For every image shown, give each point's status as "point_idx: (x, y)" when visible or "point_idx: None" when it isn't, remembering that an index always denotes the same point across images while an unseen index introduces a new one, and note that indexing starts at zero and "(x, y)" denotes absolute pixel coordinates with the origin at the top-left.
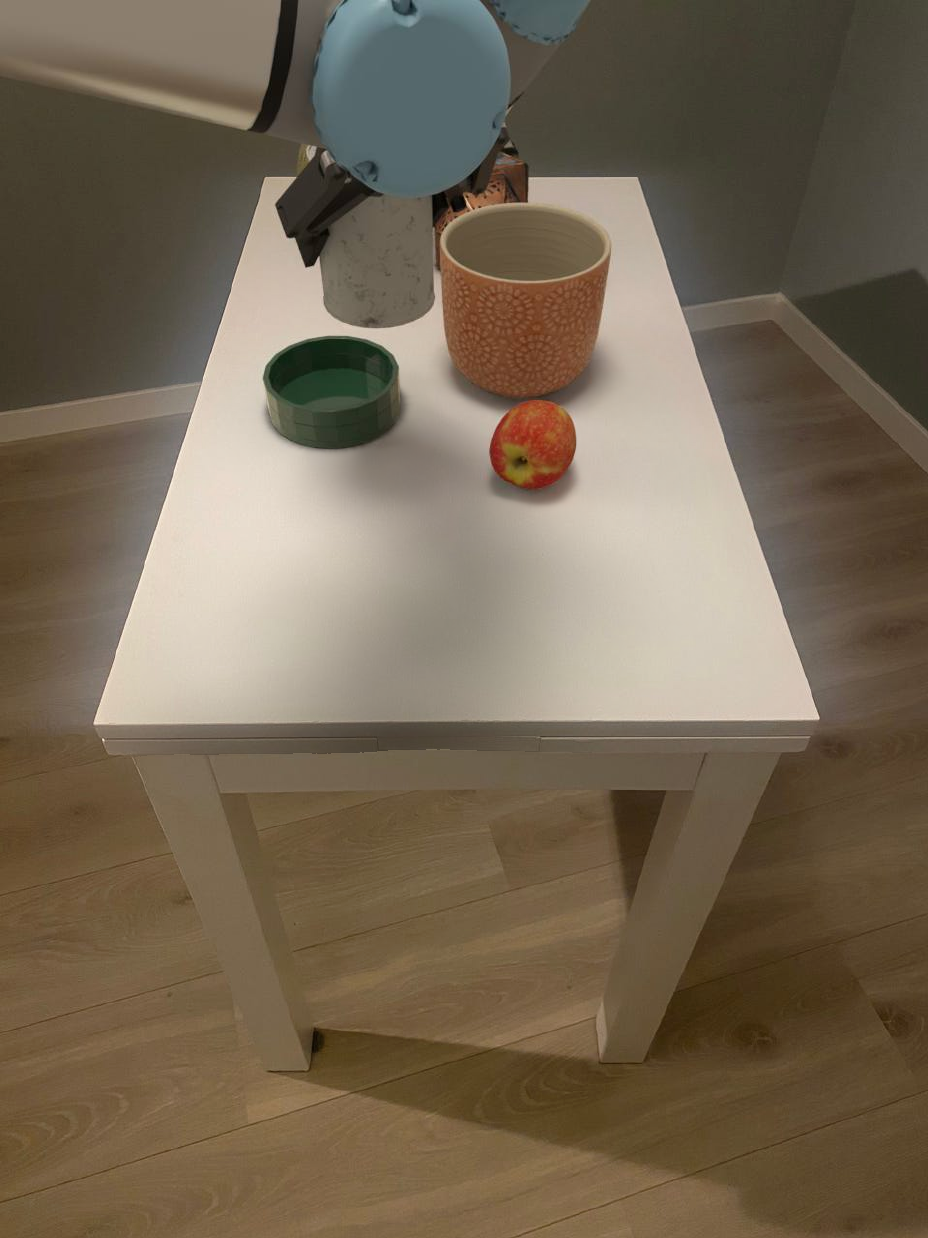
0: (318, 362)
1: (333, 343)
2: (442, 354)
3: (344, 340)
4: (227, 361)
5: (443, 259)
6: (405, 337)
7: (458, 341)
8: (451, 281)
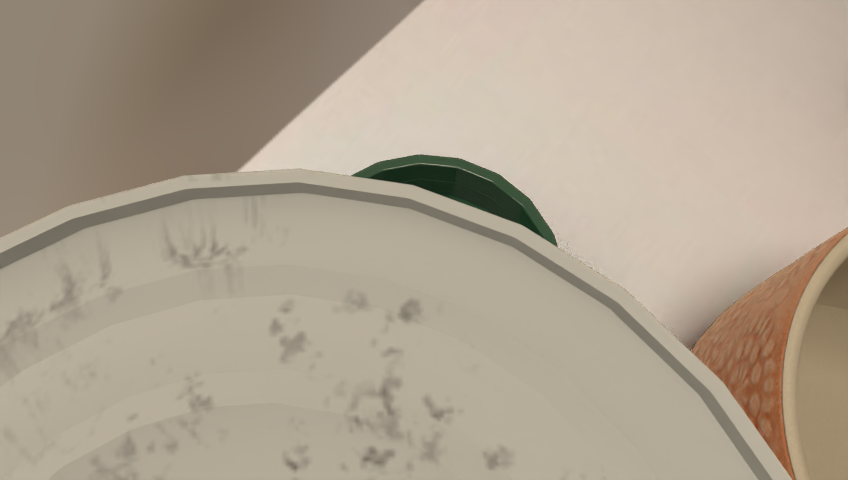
0: (465, 194)
1: (498, 194)
2: (698, 298)
3: (517, 204)
4: (366, 69)
5: (777, 330)
6: (670, 206)
7: None
8: (748, 393)
